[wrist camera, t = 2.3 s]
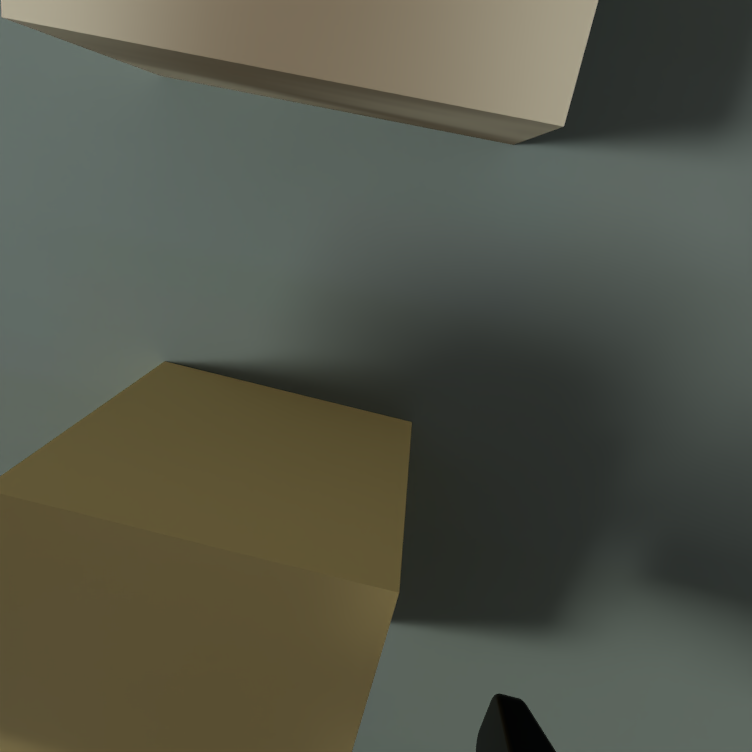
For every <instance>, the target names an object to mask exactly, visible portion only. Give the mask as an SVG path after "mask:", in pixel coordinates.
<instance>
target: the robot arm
mask: <svg viewBox="0 0 752 752" xmlns="http://www.w3.org/2000/svg"><path fill="white" fill-rule="evenodd" d="M476 752H556V751H555V749H554V748H553V746H552V745H551V743H550V742H549V740H548V738H547V737H546V735H545V734H544V732H543V730H542V729H541V727H540V726H539V724H538V723H537V721H536V719H535V718H534V716H533V715H532V713H531V711H530V710H529V708H528V707H527V705H526V704H525V703H524V702H523V701H522V700H521V699H519V698H515V697H511V696H507V695H503V694H496V695H494V697H493V698H492V700H491V702H490V705H489V707H488V710H487V712H486V715H485V717H484V720H483V722H482V725H481V727H480V730H479V733H478V737H477V744H476Z"/></svg>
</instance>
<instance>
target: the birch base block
mask: <svg viewBox="0 0 752 752" xmlns="http://www.w3.org/2000/svg"><path fill="white" fill-rule="evenodd" d="M597 4H598V0H1V10H2V18H5V19H8V20H11V21H13V22H16V23H19V24H21V25H24V26H27V27H29V28H32V29H35V30H38V31H40V32H43V33H46V34H48V35H51V36H54V37H57V38H59V39H62V40H65V41H67V42H70V43H73V44H76V45H78V46H81V47H84V48H86V49H89V50H92V51H95V52H97V53H100V54H103V55H105V56H108V57H111V58H113V59H116V60H119V61H122V62H124V63H127V64H130V65H132V66H135V67H138V68H141V69H143V70H146V71H149V72H151V73H154V74H157V75H160V76H164V77H169V78H174V79H179V80H184V81H190V82H195V83H200V84H205V85H210V86H215V87H220V88H225V89H231V90H236V91H241V92H246V93H251V94H256V95H261V96H266V97H271V98H277V99H282V100H287V101H292V102H297V103H302V104H307V105H312V106H318V107H323V108H328V109H333V110H338V111H343V112H348V113H353V114H359V115H364V116H369V117H374V118H379V119H384V120H389V121H394V122H399V123H405V124H410V125H415V126H420V127H425V128H430V129H435V130H440V131H446V132H451V133H456V134H461V135H466V136H471V137H476V138H481V139H487V140H492V141H497V142H502V143H507V144H512V145H514V144H517V143H520V142H522V141H525V140H528V139H531V138H534V137H536V136H539V135H542V134H545V133H547V132H550V131H553V130H556V129H559V128H561V127H564V125H565V121H566V117H567V114H568V110H569V106H570V103H571V99H572V95H573V92H574V88H575V84H576V81H577V77H578V73H579V70H580V66H581V62H582V59H583V55H584V51H585V48H586V44H587V40H588V37H589V33H590V29H591V26H592V22H593V18H594V15H595V11H596V7H597Z"/></svg>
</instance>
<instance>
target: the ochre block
mask: <svg viewBox="0 0 752 752" xmlns="http://www.w3.org/2000/svg"><path fill="white" fill-rule="evenodd" d="M411 428H412V422H409V421H405V420H401V419H397V418H393V417H389V416H385V415H381V414H377V413H373V412H369V411H365V410H361V409H356V408H352V407H348V406H344V405H340V404H336V403H332V402H328V401H324V400H320V399H316V398H312V397H308V396H304V395H300V394H296V393H291V392H287V391H283V390H279V389H275V388H271V387H267V386H263V385H259V384H255V383H251V382H247V381H243V380H239V379H235V378H230V377H226V376H222V375H218V374H214V373H210V372H206V371H202V370H198V369H194V368H190V367H186V366H182V365H178V364H174V363H169V362H163V363H162V364H160V365H159V366H157V367H156V368H155V369H153V370H152V371H150V372H149V373H147V374H146V375H145V376H143V377H142V378H140V379H139V380H137V381H136V382H135V383H133V384H132V385H130V386H129V387H127V388H126V389H125V390H123V391H122V392H120V393H119V394H117V395H116V396H115V397H113V398H112V399H110V400H109V401H107V402H106V403H105V404H103V405H102V406H100V407H99V408H97V409H96V410H95V411H93V412H92V413H90V414H89V415H87V416H86V417H85V418H83V419H82V420H80V421H79V422H77V423H76V424H75V425H73V426H72V427H70V428H69V429H67V430H66V431H64V432H63V433H62V434H60V435H59V436H57V437H56V438H54V439H53V440H52V441H50V442H49V443H47V444H46V445H44V446H43V447H42V448H40V449H39V450H37V451H36V452H34V453H33V454H32V455H30V456H29V457H27V458H26V459H24V460H23V461H22V462H20V463H19V464H17V465H16V466H14V467H13V468H12V469H10V470H9V471H7V472H6V473H4V474H3V475H2V476H0V752H352V749H353V746H354V743H355V739H356V736H357V733H358V729H359V726H360V723H361V719H362V716H363V713H364V709H365V706H366V702H367V699H368V696H369V692H370V689H371V686H372V682H373V679H374V676H375V672H376V669H377V666H378V662H379V659H380V656H381V652H382V649H383V646H384V642H385V639H386V635H387V632H388V629H389V625H390V622H391V619H392V615H393V612H394V609H395V605H396V602H397V599H398V595H399V589H400V575H401V562H402V549H403V535H404V522H405V509H406V495H407V482H408V469H409V455H410V442H411Z"/></svg>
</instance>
